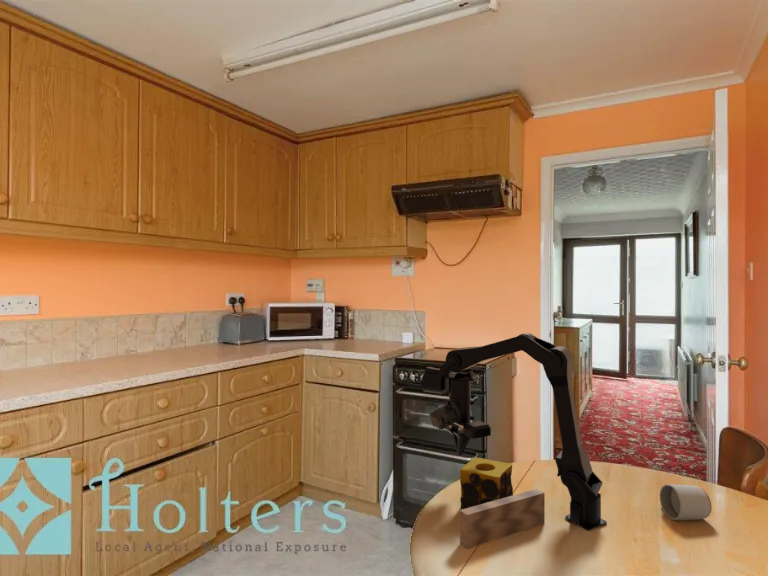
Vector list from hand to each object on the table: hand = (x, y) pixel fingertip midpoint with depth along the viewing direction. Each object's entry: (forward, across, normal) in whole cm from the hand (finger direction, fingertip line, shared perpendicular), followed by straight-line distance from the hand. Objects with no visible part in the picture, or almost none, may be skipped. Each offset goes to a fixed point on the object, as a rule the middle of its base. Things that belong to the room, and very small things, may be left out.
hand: (460, 454), depth 126 cm
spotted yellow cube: (+10, +11, 0) cm, 15 cm away
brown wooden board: (+9, +22, -5) cm, 25 cm away
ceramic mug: (+10, +36, +37) cm, 53 cm away
